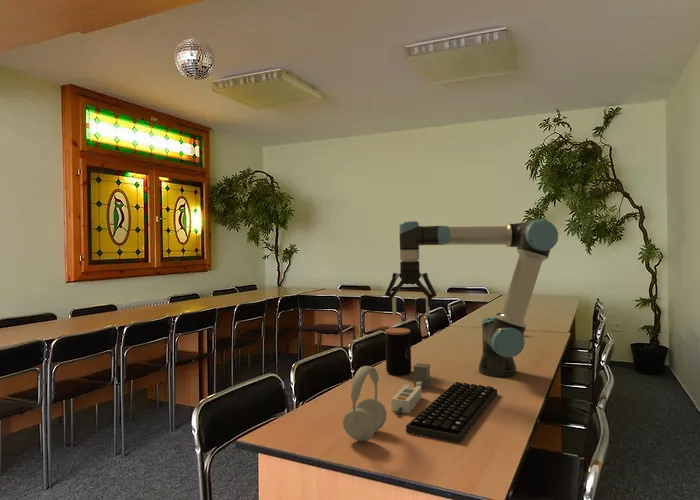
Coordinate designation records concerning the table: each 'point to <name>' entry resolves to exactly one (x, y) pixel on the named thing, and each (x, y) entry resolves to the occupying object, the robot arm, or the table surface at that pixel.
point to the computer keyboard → (453, 412)
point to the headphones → (364, 409)
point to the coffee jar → (398, 351)
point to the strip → (406, 399)
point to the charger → (422, 375)
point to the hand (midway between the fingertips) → (410, 314)
